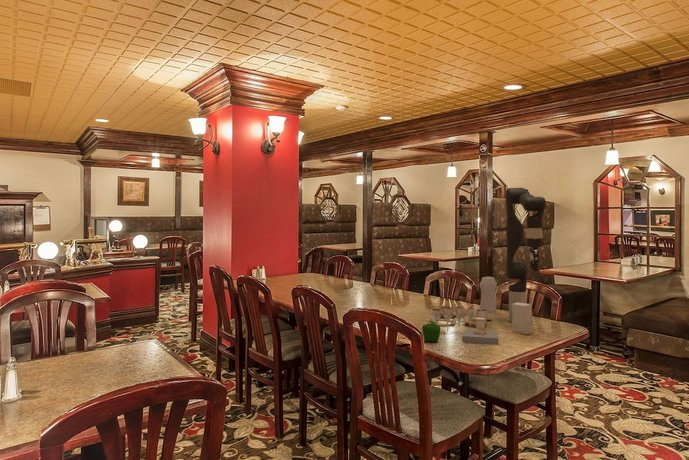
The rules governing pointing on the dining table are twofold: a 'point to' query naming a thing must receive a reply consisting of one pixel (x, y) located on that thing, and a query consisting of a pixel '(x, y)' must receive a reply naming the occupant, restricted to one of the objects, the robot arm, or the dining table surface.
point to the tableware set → (453, 321)
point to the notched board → (480, 337)
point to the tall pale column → (488, 294)
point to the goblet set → (458, 314)
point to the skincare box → (522, 318)
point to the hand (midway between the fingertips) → (534, 269)
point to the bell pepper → (431, 332)
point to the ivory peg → (480, 326)
